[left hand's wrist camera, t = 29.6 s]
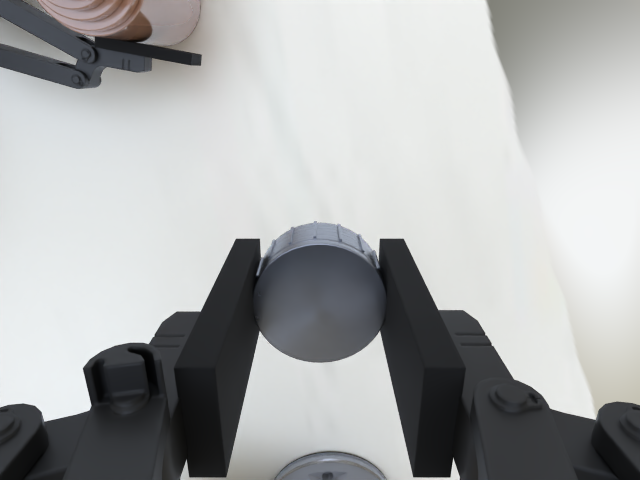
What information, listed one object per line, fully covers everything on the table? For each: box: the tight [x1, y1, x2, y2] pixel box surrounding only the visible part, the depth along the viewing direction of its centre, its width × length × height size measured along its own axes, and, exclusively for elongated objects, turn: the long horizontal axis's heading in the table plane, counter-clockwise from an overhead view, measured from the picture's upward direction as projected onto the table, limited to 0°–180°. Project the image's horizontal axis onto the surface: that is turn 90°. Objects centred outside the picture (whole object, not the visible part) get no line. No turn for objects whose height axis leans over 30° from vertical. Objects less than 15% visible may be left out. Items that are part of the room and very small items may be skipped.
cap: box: [253, 221, 387, 362], centre depth 14 cm, size 4×4×2 cm
